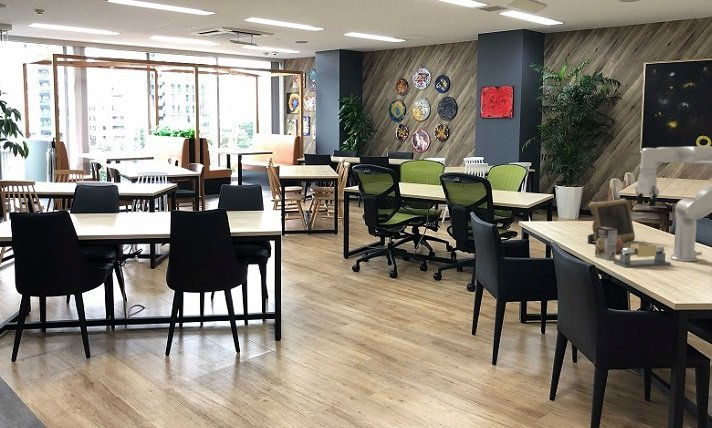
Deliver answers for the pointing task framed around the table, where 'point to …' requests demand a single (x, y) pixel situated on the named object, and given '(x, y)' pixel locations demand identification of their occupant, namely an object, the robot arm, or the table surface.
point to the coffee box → (606, 243)
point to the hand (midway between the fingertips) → (646, 205)
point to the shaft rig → (627, 262)
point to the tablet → (612, 218)
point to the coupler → (644, 249)
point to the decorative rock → (619, 244)
